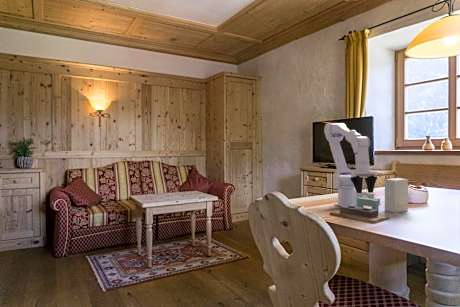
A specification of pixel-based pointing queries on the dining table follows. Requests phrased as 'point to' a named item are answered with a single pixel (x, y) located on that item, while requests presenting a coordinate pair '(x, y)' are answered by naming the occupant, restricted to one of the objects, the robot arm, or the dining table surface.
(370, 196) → the lattice window wall
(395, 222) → the dining table surface
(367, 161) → the robot arm
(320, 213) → the dining table surface
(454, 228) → the dining table surface
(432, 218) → the dining table surface
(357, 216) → the rail stand
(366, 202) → the clip
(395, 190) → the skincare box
